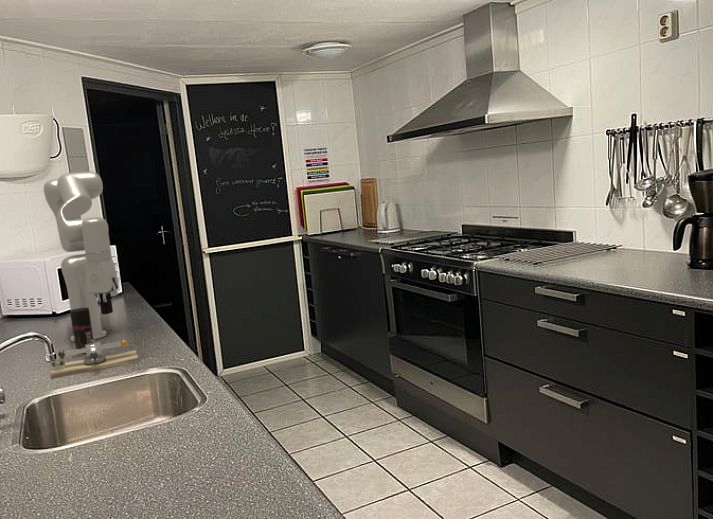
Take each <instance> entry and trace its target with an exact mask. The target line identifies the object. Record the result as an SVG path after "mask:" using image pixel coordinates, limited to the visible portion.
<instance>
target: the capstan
mask: <svg viewBox="0 0 713 519" xmlns="http://www.w3.org/2000/svg"><path fill="white" fill-rule="evenodd" d="M97 340H98V339H91V340H90V343H88V344H86V345H85V347H84V348H78V349H76V348H72V349H68V350H60V351H59V352H58V354H57V355H58V358H63V357H64V358H65V357H68V356H75V355H78V354H81V353H86V354H85V355H86V357H84V359H83V360H84V363H85V364H94V363H99V362H102V361H104V360H106V355H105V354H103V352H102V351H103V350H108V349H114V348H119V347H123V348H124V347H127V346H128V341H127V340H126V339H122V340H120V341H115V342H108V343H101V342H100V341H97Z"/></svg>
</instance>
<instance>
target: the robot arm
mask: <svg viewBox="0 0 713 519" xmlns="http://www.w3.org/2000/svg"><path fill="white" fill-rule="evenodd" d="M103 189H104V186H103V181H102V178H101V176H100V175H99V173H97V172H95V171H82V172H80V171H79V172H68V173H64V174H61V175H60V176H59V177H58V178H56V179H51V180H49V181H48V180H47V182H45V183H44V185H43V194H44V196H45V200H46V202H47V204H48V206H49V209H51V211H52V213H53V214H54V215H53V216H54V217H55V221H56V222H55V223H56V226H57V231H58V236H59V240H60V245H61V248H62V250H64V252H67V253H75V252H84V253H82V254H81V253H79V254H74V255H70V256H67V257H65V258H64V259H63V260H62V261H61V264H60V269H61V273H62V276H63V279H64V282H65V285H66V289H67V295H68V302H69V308H70V311H71V310H73V309H78V308H89V313H90V320H91V326H92V333H93V339H96V340H98V339H100V338H103V337H105V336H106V335H107V333H108V332H107V331H106V330H103V329H102V324H101V315H110V314H112V313H114V311H113V310H114V309H113V303H112V301H113V299H114V298H113V297H114V296H118V295H119V293H118V290H119V287H120V286H119V278H118V274H117V270H116V266H115V263H114V260H113V257H112V251H111V244H110V238H109V224H108V222H107V220H106V219H105V218H102V217H100V216H99V217H98V216H97V217H89V218H88V217H86V218H82V215H85V214H86V213H88V212H89V211H90V210H91V208H92V206H93V200H95V199H96V198H98V197H99V196H100V195H101V194H102V193H103ZM99 305H100V309H99ZM100 312H101V315H100ZM70 341H71V342H74V343H75V340H74V334H73V335H71V336H70Z"/></svg>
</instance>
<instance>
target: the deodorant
mask: <svg viewBox="0 0 713 519" xmlns="http://www.w3.org/2000/svg"><path fill="white" fill-rule="evenodd" d="M69 313H70V314H69V315H70V320H71V327H72V334H73V335H74V340H75V342H74V346H75V347H74V348H75V349H78V348H84V347H85V345H86V344H88V343H90V340H91V339H93V333H92V326H91V320H90V313H89V308H78V309H73V310H71V309H70V311H69ZM81 354H83V355H87V354H86V353H81Z"/></svg>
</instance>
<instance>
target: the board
mask: <svg viewBox="0 0 713 519" xmlns="http://www.w3.org/2000/svg"><path fill="white" fill-rule="evenodd" d="M56 358H57V359H56V361H53V362H51V361H50V366H51V369H50V370H51V373H50V379H55V378H60V377H67V376H72V375H77V374H82V373H87V372H93V371H99V370H104V369H108V368H113V367H114V368H115V367H119V366H124V364H125V365H130V364H134V363H139V362H140V360H139V359H140V358H139V356H138V353H137V349H134V350H128V351H124V352H123V351H122V352H116V353H112V354H107V355H106V360H104V361H102V362H99V363H94V364H85V363H84V359H80V360H73V361H68V362H66V361H65V357H63V358H60V357H56Z"/></svg>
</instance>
